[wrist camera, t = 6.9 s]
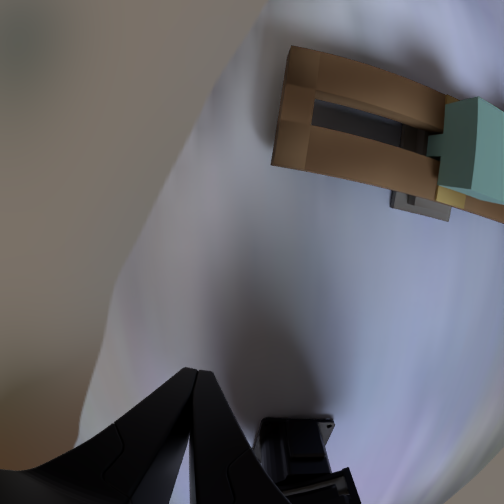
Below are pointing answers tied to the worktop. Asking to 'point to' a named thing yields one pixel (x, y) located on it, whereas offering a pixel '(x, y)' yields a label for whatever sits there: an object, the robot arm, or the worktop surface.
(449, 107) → the block
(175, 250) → the worktop surface
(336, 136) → the brown long slotted block
